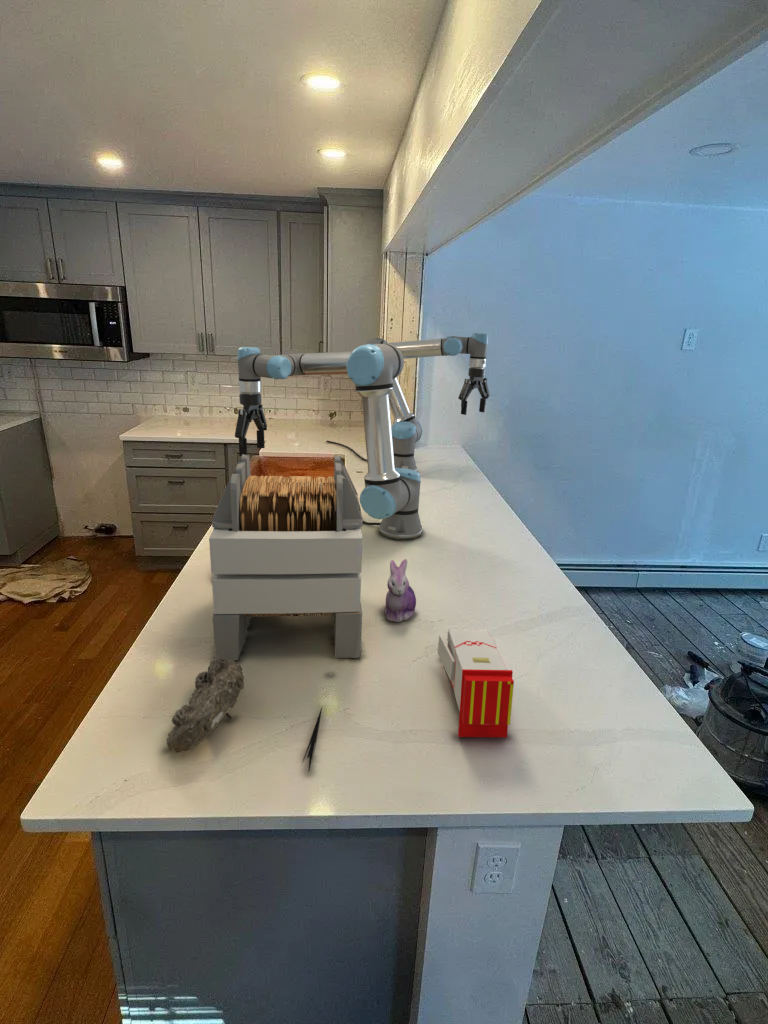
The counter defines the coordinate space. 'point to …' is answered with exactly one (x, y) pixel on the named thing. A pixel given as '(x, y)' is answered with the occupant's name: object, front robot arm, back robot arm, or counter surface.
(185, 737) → the fossil
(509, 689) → the toy
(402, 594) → the figurine
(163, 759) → the counter surface
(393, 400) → the back robot arm
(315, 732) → the feather
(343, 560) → the record crate
